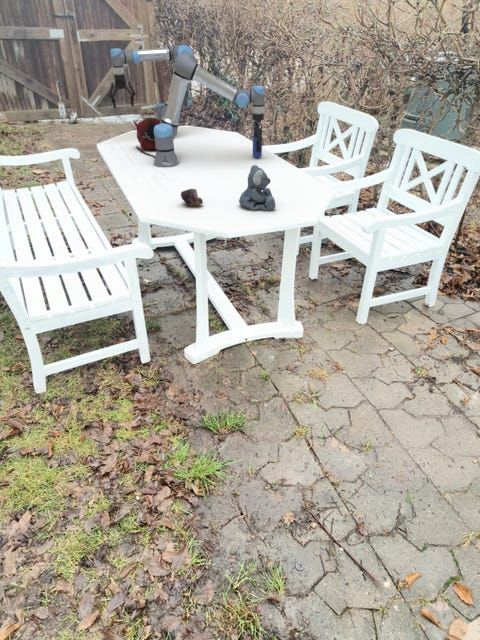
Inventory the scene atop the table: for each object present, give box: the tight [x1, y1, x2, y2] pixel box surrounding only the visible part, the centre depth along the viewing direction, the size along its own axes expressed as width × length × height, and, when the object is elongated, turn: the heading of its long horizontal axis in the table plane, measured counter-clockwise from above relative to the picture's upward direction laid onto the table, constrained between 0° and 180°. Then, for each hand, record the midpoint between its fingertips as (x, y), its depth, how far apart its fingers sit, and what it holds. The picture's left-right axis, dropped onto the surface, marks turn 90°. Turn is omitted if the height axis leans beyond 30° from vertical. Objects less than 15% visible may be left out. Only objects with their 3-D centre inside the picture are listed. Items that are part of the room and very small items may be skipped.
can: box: [252, 135, 263, 158], centre depth 301 cm, size 6×6×12 cm
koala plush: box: [238, 164, 276, 211], centre depth 224 cm, size 17×18×20 cm
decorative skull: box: [132, 117, 161, 153], centre depth 323 cm, size 21×24×25 cm
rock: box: [180, 188, 204, 207], centre depth 229 cm, size 12×9×10 cm
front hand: (257, 150), depth 302 cm, fingers closed on can, 6 cm apart
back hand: (123, 107), depth 328 cm, fingers open, 13 cm apart
